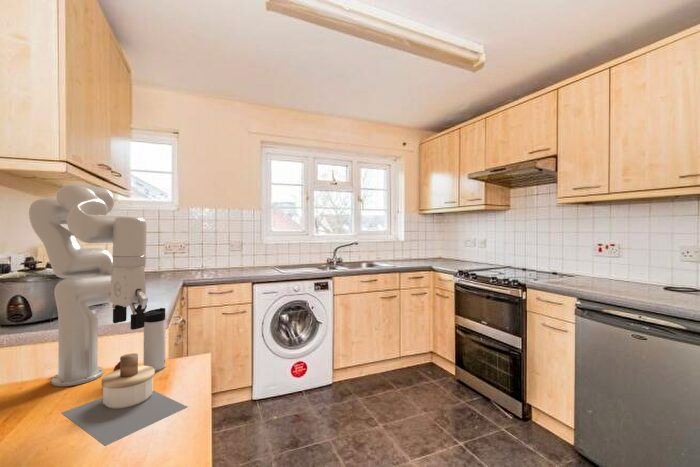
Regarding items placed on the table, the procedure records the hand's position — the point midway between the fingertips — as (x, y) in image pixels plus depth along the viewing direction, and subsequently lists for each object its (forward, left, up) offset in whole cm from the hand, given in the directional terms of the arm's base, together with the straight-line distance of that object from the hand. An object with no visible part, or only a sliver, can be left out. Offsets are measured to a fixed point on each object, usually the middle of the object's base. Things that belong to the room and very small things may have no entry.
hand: (128, 325), depth 91 cm
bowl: (+1, 0, -20) cm, 20 cm away
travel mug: (-14, +15, -21) cm, 29 cm away
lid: (0, 0, -14) cm, 14 cm away
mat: (+6, -3, -21) cm, 22 cm away
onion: (-12, +5, -21) cm, 24 cm away
